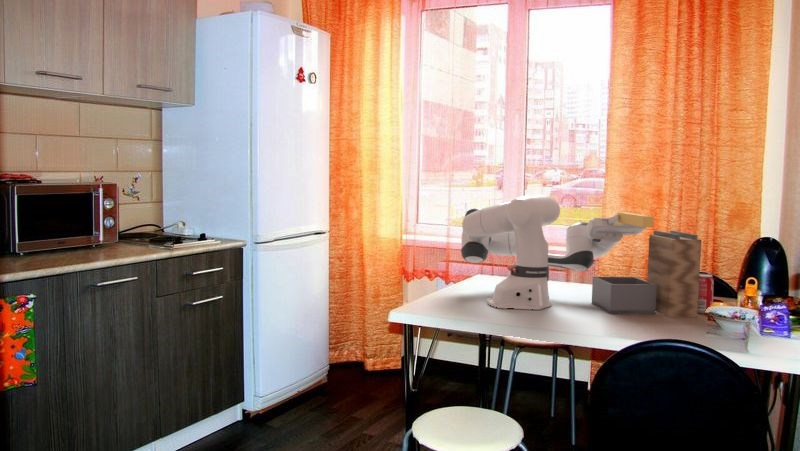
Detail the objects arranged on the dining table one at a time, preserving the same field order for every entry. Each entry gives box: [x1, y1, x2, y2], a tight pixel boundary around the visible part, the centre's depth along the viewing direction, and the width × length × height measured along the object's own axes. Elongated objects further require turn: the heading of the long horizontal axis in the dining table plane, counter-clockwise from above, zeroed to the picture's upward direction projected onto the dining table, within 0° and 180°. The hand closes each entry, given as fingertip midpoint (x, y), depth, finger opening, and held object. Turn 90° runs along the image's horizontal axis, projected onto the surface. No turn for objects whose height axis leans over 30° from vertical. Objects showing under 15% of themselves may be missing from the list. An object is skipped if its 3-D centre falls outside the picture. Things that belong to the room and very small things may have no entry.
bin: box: [591, 276, 657, 315], centre depth 224 cm, size 16×16×10 cm
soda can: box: [697, 273, 715, 315], centre depth 221 cm, size 7×7×13 cm
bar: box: [616, 211, 655, 228], centre depth 216 cm, size 4×20×4 cm, turn 5°
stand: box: [646, 230, 702, 318], centre depth 219 cm, size 10×16×28 cm, turn 5°
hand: (625, 216), depth 223 cm, fingers closed on bar, 3 cm apart
